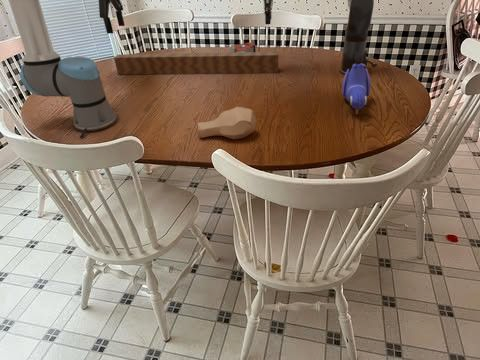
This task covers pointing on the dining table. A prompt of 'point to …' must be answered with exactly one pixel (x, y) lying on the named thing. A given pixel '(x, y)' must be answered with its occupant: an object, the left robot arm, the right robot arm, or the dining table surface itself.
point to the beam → (197, 63)
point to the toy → (356, 86)
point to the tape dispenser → (243, 48)
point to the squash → (230, 124)
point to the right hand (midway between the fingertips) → (268, 21)
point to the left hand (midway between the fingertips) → (116, 29)
